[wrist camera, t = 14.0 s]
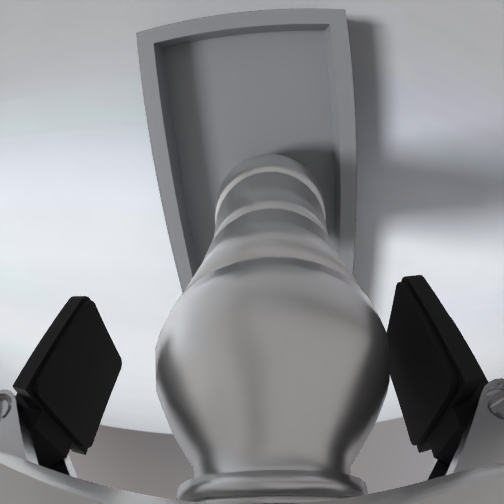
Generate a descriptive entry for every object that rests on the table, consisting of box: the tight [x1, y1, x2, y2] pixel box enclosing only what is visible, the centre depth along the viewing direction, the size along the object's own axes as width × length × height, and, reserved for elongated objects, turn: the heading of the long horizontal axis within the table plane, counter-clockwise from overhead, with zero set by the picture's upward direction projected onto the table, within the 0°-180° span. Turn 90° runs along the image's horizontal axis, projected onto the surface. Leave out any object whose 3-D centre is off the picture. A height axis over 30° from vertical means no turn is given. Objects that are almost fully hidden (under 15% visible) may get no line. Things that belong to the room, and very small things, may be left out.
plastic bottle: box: [156, 154, 390, 504], centre depth 12 cm, size 6×7×20 cm
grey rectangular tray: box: [136, 9, 356, 292], centre depth 20 cm, size 24×12×3 cm, turn 6°
